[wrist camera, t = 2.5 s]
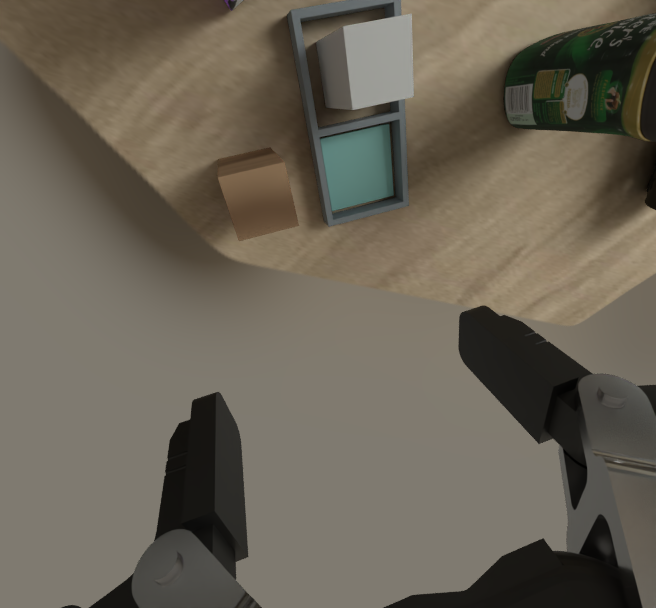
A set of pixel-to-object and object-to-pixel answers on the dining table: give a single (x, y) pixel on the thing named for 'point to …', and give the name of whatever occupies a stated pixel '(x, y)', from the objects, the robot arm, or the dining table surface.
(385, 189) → the divider rack
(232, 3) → the candy box
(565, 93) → the coffee jar
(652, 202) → the muzzle brake
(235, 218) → the walnut plug
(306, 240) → the dining table surface
